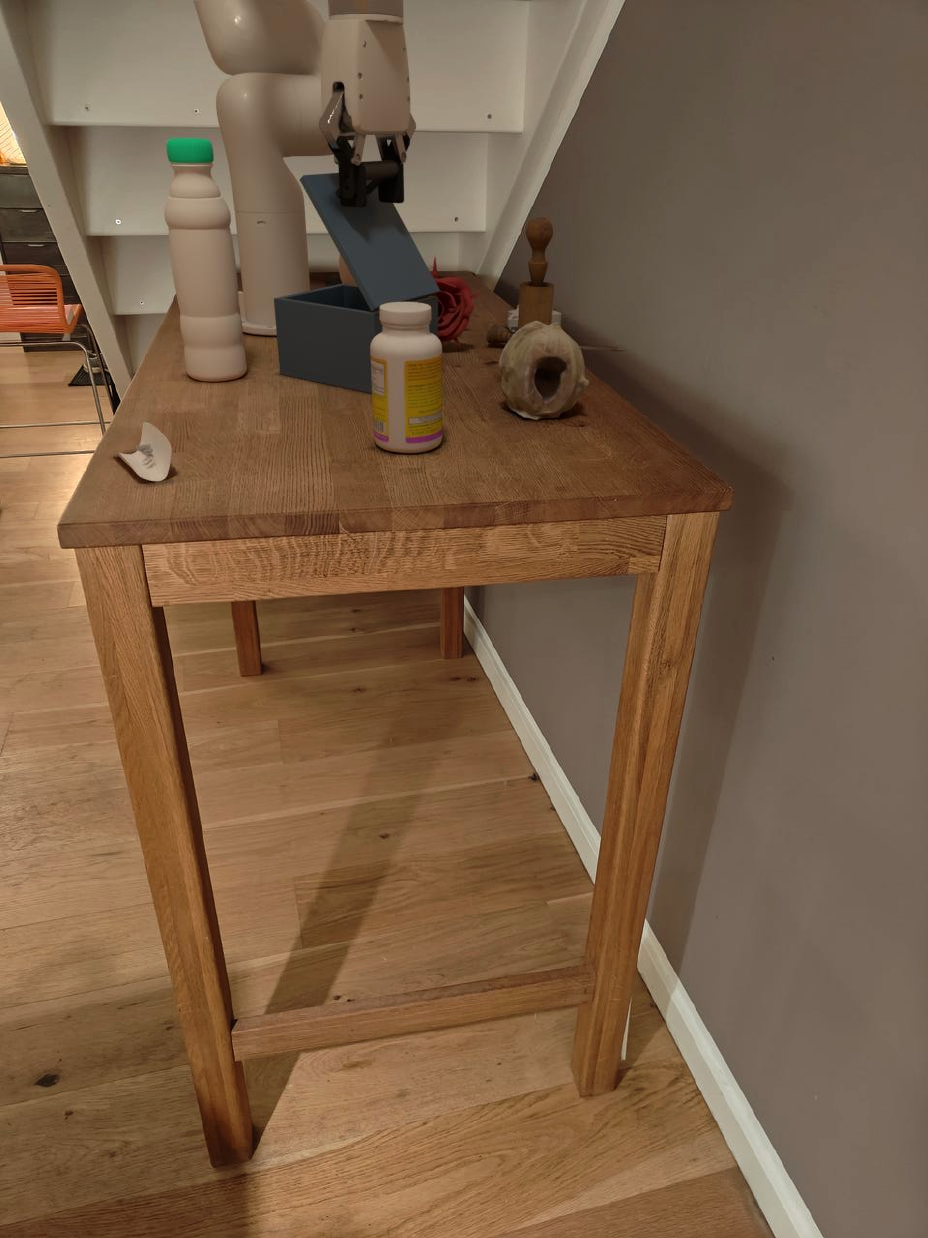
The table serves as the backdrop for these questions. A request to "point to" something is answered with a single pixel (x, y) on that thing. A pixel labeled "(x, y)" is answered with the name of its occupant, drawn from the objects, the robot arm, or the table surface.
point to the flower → (452, 306)
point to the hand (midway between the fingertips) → (373, 202)
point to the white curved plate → (150, 454)
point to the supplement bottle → (406, 379)
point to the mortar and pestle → (537, 277)
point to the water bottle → (203, 265)
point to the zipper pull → (513, 319)
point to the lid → (372, 238)
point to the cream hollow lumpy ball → (542, 371)
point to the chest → (331, 335)
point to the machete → (503, 335)
